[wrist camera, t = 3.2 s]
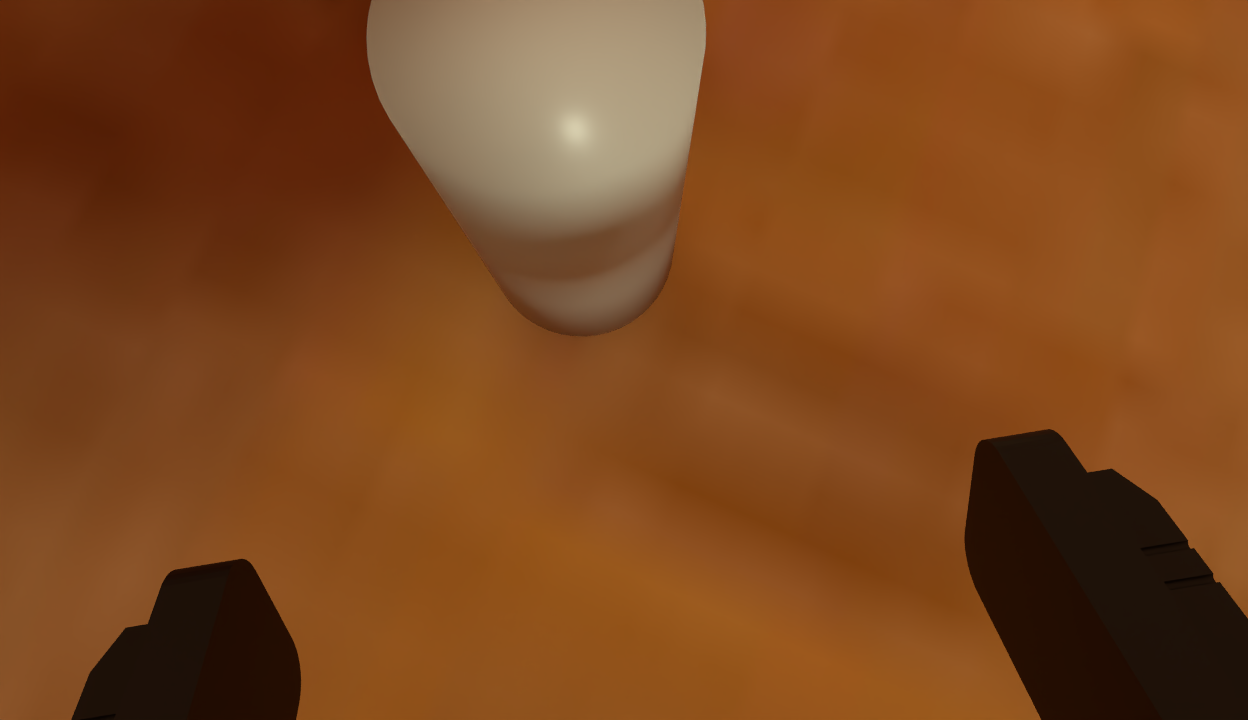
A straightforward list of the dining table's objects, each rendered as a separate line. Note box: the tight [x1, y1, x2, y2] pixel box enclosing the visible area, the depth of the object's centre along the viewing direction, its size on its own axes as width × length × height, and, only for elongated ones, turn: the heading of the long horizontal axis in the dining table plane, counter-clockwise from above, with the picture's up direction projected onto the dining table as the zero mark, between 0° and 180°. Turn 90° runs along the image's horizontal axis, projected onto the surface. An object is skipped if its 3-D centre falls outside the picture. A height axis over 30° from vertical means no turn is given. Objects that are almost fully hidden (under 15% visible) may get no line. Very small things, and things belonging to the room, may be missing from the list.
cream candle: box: [366, 0, 706, 336], centre depth 18 cm, size 4×4×11 cm
